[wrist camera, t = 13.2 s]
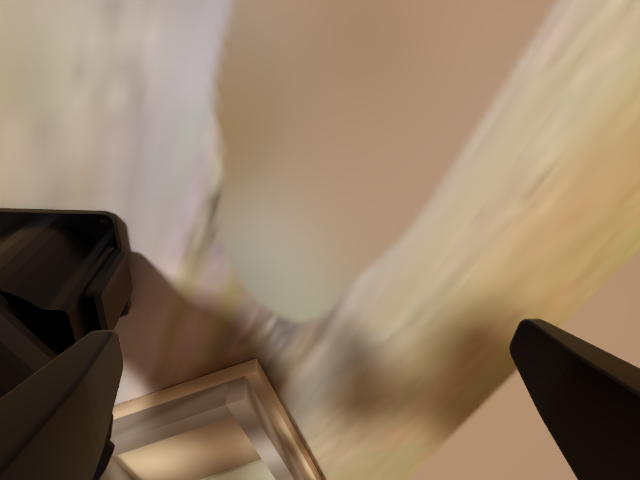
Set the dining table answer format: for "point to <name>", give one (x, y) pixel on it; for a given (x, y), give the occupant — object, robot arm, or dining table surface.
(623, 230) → the dining table surface
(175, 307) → the dining table surface
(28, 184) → the dining table surface
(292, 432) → the rail board
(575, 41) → the dining table surface
